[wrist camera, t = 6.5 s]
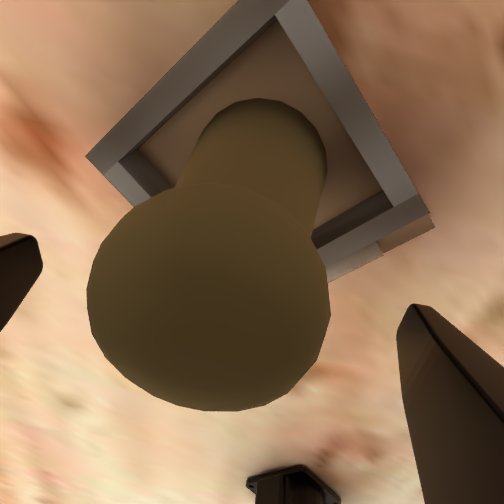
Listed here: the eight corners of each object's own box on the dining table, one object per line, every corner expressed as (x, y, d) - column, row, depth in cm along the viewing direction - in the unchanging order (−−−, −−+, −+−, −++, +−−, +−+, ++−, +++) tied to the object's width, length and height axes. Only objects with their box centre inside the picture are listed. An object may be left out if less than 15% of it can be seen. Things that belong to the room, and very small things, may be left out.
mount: (430, 219, 16) (450, 249, 14) (252, 310, 21) (245, 344, 19) (286, -28, 12) (282, -44, 10) (104, 152, 17) (71, 169, 15)
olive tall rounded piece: (307, 74, 13) (308, 150, 4) (341, 211, 16) (389, 445, 7) (172, 126, 15) (-46, 262, 6) (224, 241, 18) (134, 460, 8)
